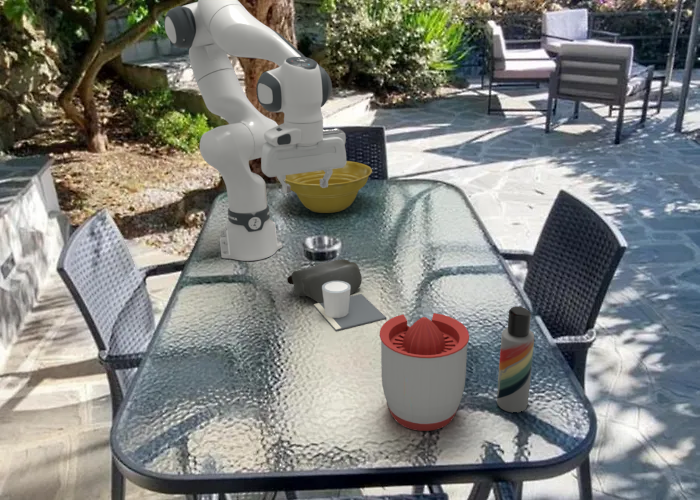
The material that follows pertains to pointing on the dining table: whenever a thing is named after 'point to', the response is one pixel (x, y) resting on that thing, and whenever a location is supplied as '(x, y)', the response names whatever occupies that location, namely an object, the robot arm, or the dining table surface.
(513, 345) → the lotion bottle
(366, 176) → the planter bowl
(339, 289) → the shot glass
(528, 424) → the dining table surface
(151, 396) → the dining table surface
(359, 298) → the mat
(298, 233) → the dining table surface
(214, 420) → the dining table surface
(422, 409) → the citrus juicer
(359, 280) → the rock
